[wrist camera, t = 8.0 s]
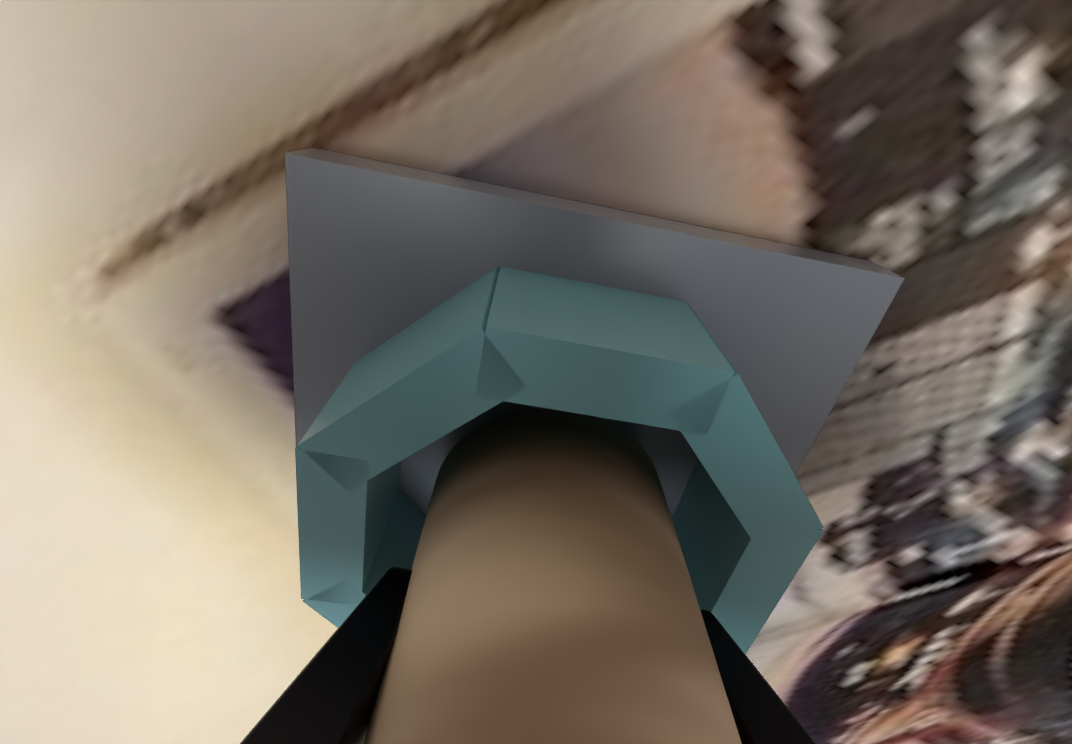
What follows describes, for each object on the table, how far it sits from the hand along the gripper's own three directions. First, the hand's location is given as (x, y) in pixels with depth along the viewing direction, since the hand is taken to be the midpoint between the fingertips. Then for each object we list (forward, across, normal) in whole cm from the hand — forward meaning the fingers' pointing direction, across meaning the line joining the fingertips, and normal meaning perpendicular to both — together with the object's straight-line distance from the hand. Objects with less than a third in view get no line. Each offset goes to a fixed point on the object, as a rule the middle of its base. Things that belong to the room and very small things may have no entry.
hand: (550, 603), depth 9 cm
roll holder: (+5, 0, 0) cm, 5 cm away
